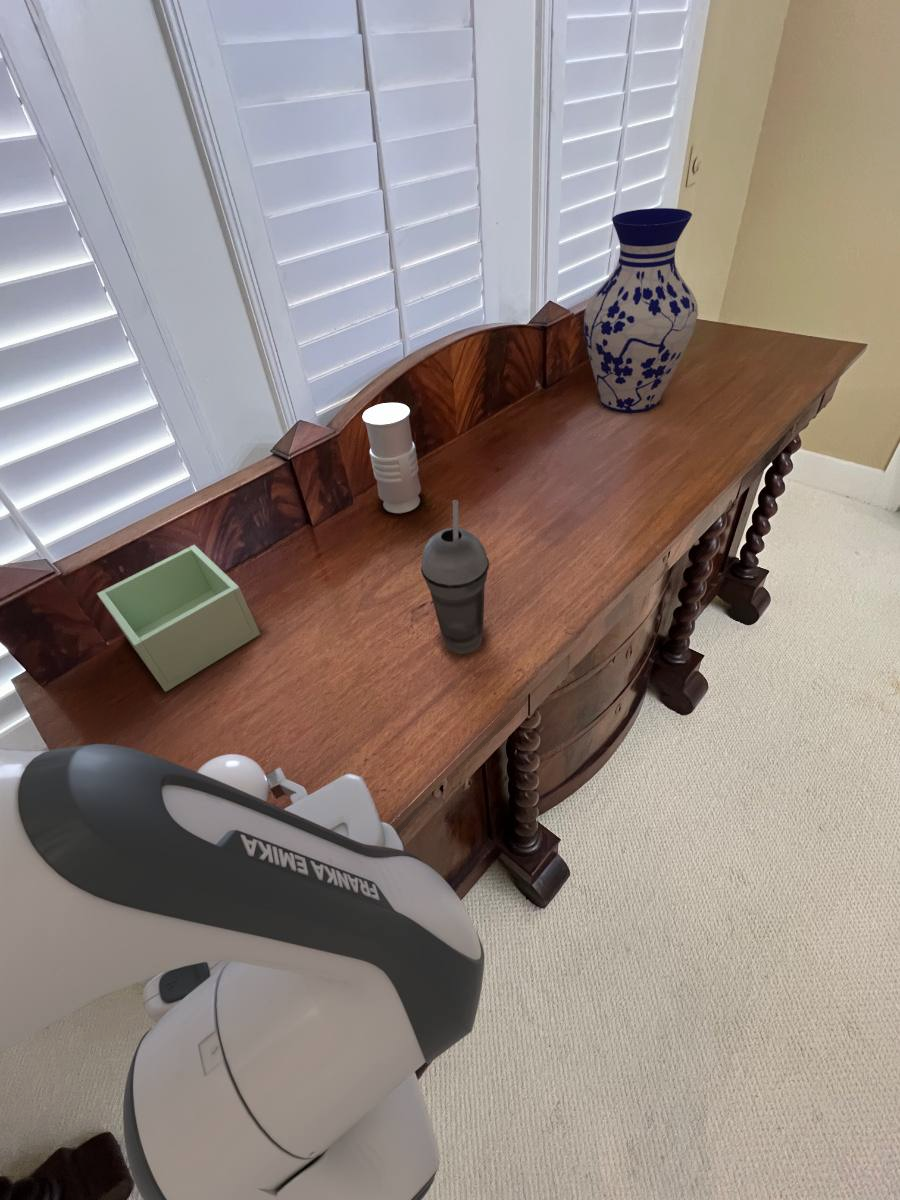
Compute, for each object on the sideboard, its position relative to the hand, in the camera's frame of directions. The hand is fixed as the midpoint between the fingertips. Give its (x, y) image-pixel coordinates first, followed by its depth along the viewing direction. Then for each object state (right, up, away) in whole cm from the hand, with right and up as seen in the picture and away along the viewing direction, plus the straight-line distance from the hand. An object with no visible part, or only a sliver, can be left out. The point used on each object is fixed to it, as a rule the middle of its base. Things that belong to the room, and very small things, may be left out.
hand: (232, 796), depth 50 cm
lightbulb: (+1, -5, +4) cm, 6 cm away
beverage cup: (+20, +12, +20) cm, 31 cm away
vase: (+53, +55, +62) cm, 98 cm away
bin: (-14, +12, +24) cm, 31 cm away
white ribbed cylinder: (+11, +32, +43) cm, 55 cm away
